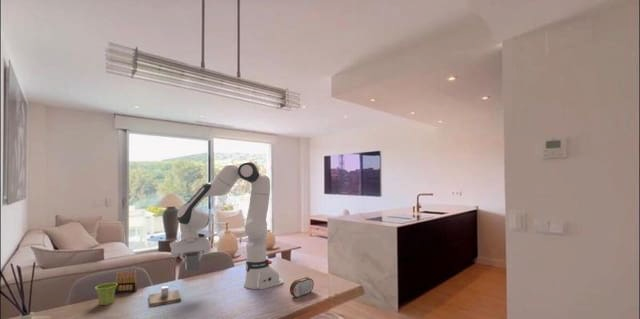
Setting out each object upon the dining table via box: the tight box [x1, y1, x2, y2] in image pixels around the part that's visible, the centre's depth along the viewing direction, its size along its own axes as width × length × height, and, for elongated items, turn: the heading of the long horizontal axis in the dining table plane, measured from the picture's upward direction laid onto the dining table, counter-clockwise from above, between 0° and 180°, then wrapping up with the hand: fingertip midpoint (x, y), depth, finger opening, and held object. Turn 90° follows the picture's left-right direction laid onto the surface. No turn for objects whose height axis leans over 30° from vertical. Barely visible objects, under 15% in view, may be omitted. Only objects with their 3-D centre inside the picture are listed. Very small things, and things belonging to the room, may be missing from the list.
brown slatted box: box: [115, 269, 138, 294], centre depth 180 cm, size 11×2×12 cm, turn 99°
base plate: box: [148, 289, 182, 308], centre depth 168 cm, size 14×14×2 cm
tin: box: [289, 276, 315, 298], centre depth 172 cm, size 15×3×8 cm, turn 134°
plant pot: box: [94, 282, 118, 306], centre depth 164 cm, size 9×9×9 cm
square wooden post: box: [160, 286, 169, 298], centre depth 168 cm, size 3×3×4 cm
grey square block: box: [184, 253, 200, 272], centre depth 175 cm, size 6×6×8 cm
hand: (192, 260), depth 175 cm, fingers closed on grey square block, 6 cm apart
